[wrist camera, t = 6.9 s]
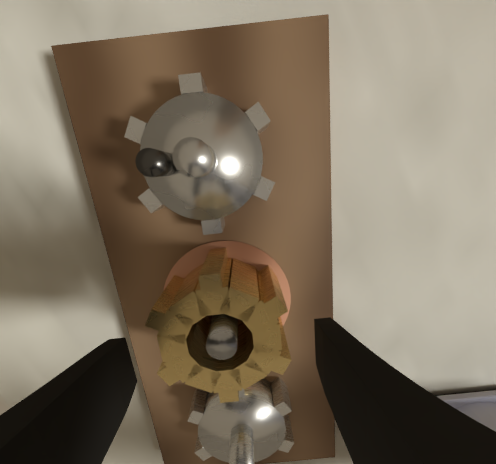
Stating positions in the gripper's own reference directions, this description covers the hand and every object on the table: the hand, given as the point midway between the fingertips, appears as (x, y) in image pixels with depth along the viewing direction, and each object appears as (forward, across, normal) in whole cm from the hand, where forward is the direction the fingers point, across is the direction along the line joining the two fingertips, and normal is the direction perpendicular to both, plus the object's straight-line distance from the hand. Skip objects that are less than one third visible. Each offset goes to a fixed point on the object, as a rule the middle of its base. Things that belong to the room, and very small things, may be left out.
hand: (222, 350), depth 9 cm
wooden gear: (+3, 0, 0) cm, 3 cm away
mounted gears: (+3, 0, 0) cm, 3 cm away
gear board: (+5, 0, 0) cm, 5 cm away
